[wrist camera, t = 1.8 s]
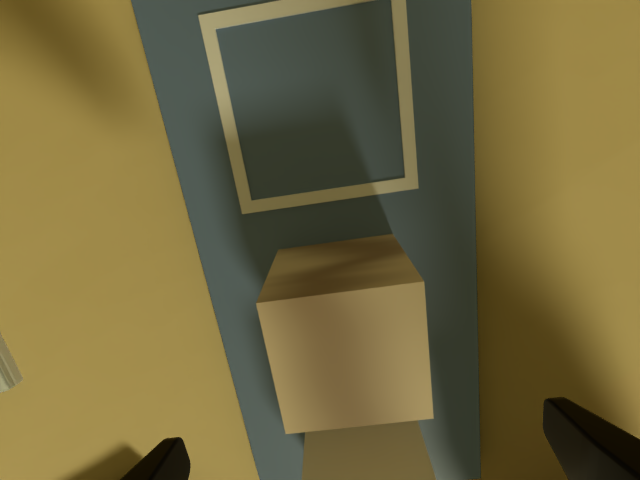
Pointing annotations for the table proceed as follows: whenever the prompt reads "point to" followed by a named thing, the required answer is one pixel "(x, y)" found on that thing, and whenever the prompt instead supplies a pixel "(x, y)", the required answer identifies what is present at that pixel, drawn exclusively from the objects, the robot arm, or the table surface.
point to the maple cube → (347, 335)
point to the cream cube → (367, 453)
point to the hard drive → (8, 368)
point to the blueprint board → (326, 174)
